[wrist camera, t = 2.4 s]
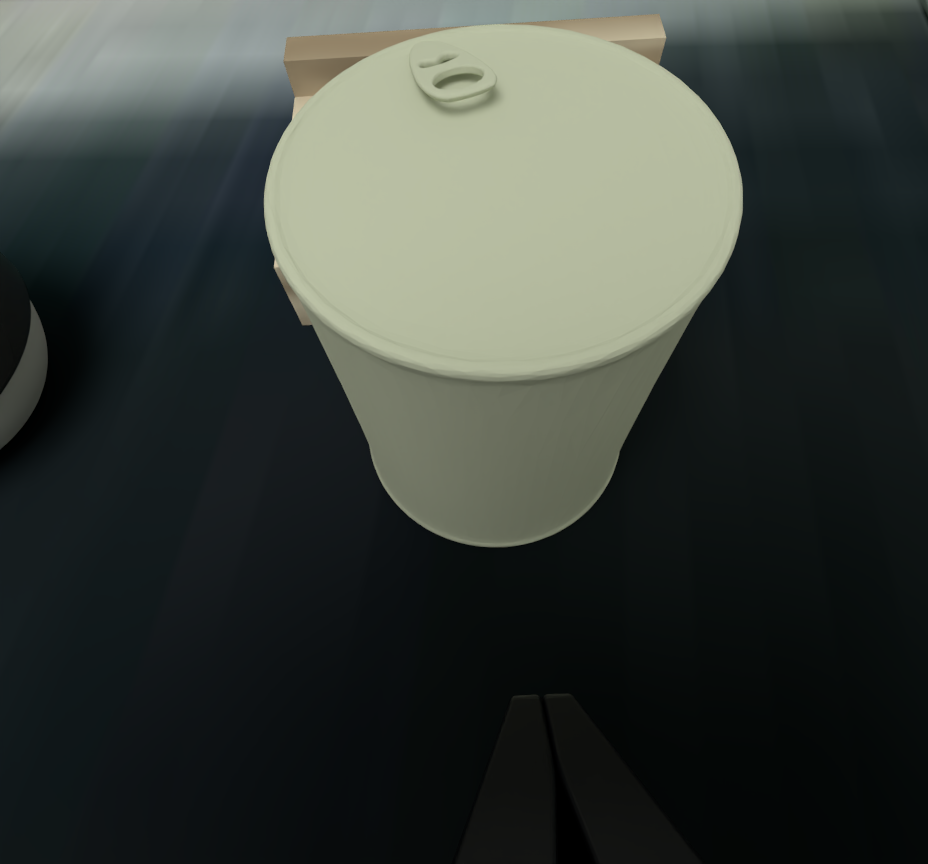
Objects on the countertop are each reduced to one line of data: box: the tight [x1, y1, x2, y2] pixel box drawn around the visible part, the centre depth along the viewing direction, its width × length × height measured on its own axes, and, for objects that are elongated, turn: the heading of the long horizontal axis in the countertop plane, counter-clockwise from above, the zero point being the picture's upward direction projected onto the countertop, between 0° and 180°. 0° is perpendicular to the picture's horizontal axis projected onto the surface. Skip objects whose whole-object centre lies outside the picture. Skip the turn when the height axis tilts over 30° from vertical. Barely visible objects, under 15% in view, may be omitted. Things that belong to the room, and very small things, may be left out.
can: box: [264, 24, 743, 547], centre depth 16 cm, size 9×9×12 cm
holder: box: [274, 14, 666, 325], centre depth 24 cm, size 10×15×5 cm
